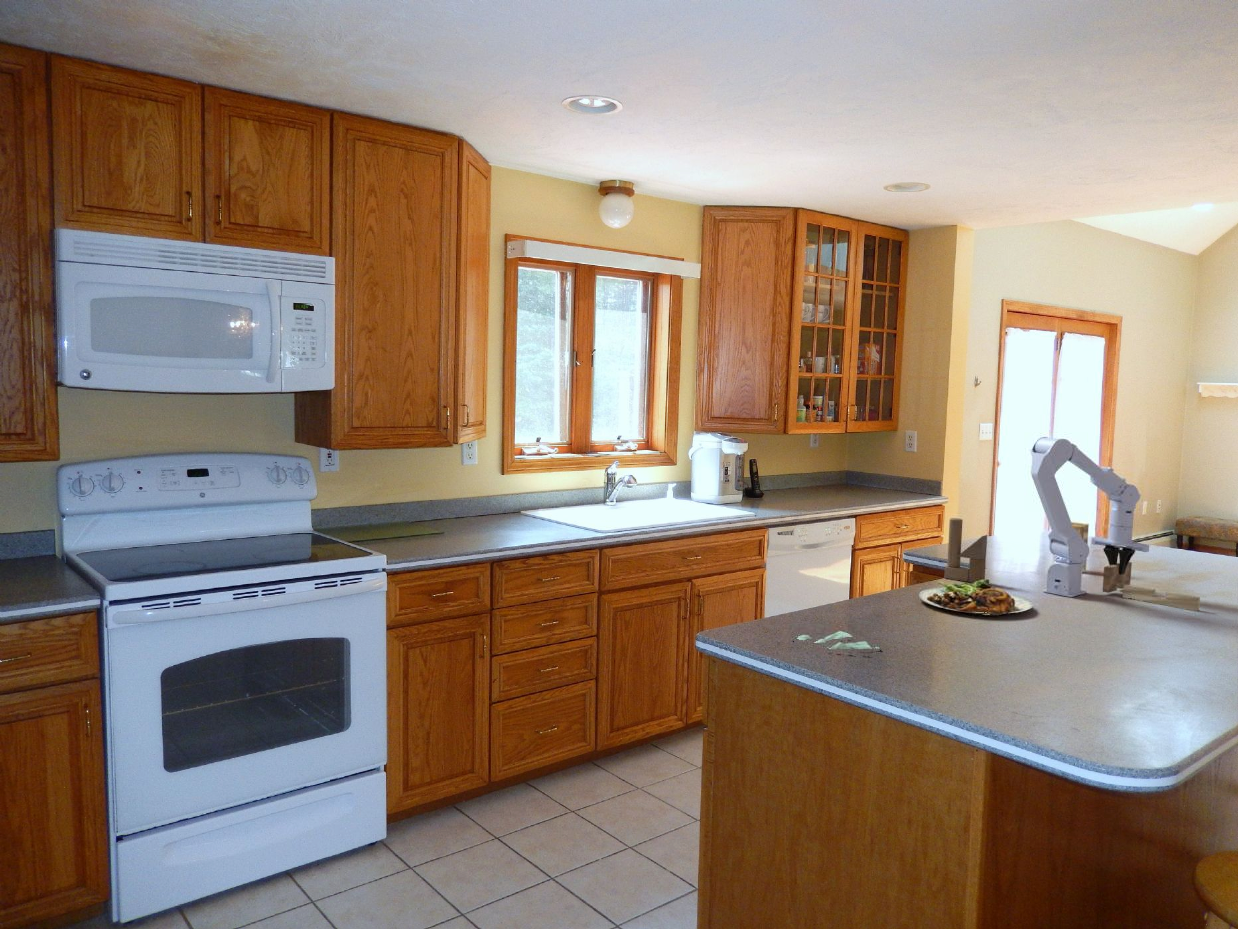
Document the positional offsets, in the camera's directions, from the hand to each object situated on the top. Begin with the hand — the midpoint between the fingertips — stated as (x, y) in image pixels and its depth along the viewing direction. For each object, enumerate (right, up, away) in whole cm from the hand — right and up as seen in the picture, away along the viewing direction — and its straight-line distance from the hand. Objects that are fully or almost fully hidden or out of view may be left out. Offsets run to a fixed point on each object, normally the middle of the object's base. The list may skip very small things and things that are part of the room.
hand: (1117, 573), depth 250 cm
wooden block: (-39, -4, +12) cm, 41 cm away
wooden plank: (0, -4, 0) cm, 4 cm away
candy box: (+1, -3, +29) cm, 30 cm away
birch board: (+4, -7, -13) cm, 15 cm away
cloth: (-91, -10, -56) cm, 108 cm away
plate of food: (-48, -7, -18) cm, 52 cm away
